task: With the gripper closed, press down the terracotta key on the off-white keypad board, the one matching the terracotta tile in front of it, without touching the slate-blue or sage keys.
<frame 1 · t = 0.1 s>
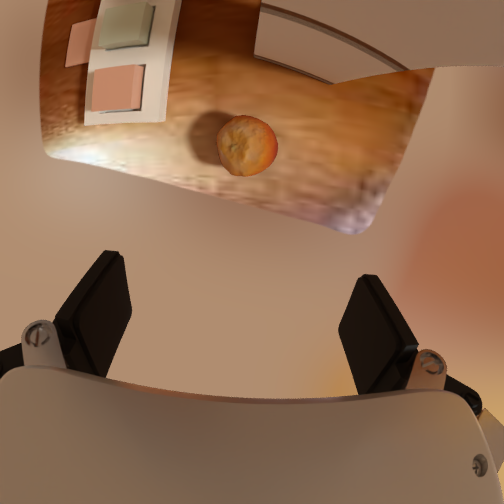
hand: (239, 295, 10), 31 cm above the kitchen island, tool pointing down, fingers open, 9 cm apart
fruit: (246, 142, 37), on the kitchen island
keypad board: (137, 32, 27), on the kitchen island
tiered shelf stand: (304, 39, 29), on the kitchen island
key sage: (126, 25, 23), point 5 cm above the kitchen island, slide at 0.0 cm
key terracotta: (117, 88, 28), point 5 cm above the kitchen island, slide at 0.0 cm
prompt tile: (82, 42, 26), on the kitchen island
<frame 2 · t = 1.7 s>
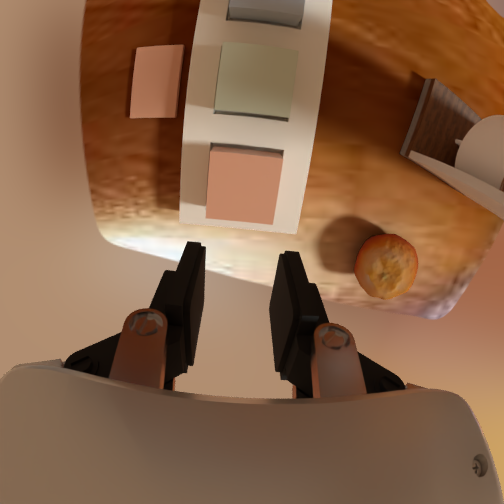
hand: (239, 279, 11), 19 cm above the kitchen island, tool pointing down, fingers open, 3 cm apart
fruit: (375, 250, 33), on the kitchen island
keypad board: (254, 85, 24), on the kitchen island
tiered shelf stand: (444, 137, 26), on the kitchen island
key sage: (255, 80, 20), point 5 cm above the kitchen island, slide at 0.0 cm
key terracotta: (243, 184, 24), point 4 cm above the kitchen island, slide at 0.0 cm
prompt tile: (157, 81, 23), on the kitchen island
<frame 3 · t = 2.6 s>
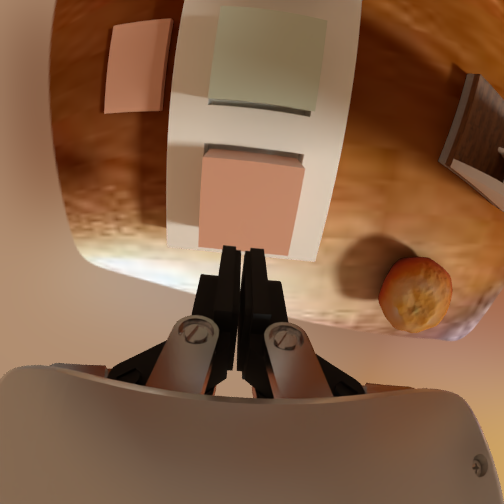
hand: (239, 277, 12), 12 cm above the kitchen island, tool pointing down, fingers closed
fruit: (402, 273, 27), on the kitchen island
keypad board: (263, 68, 17), on the kitchen island
tiered shelf stand: (484, 143, 19), on the kitchen island
key sage: (267, 58, 13), point 5 cm above the kitchen island, slide at 0.0 cm
key terracotta: (248, 200, 18), point 5 cm above the kitchen island, slide at 0.0 cm
prompt tile: (138, 65, 17), on the kitchen island
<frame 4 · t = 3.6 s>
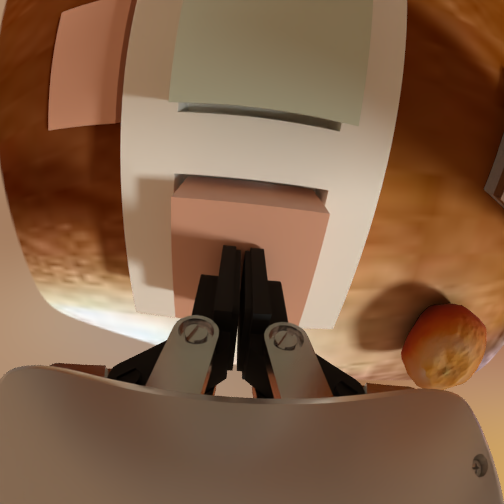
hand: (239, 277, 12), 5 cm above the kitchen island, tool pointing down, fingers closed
fruit: (429, 319, 21), on the kitchen island
keypad board: (265, 56, 11), on the kitchen island
key sage: (273, 34, 7), point 4 cm above the kitchen island, slide at 0.0 cm
key terracotta: (243, 253, 13), point 4 cm above the kitchen island, slide at 0.9 cm, touching gripper
prompt tile: (90, 61, 11), on the kitchen island
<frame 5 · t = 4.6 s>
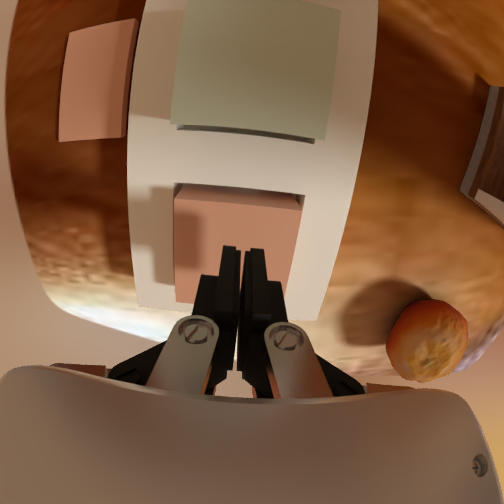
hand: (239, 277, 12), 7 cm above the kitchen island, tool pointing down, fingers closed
fruit: (412, 315, 23), on the kitchen island
keypad board: (251, 77, 14), on the kitchen island
key sage: (255, 63, 10), point 4 cm above the kitchen island, slide at 0.0 cm
key terracotta: (233, 246, 15), point 3 cm above the kitchen island, slide at 1.4 cm
prompt tile: (96, 80, 13), on the kitchen island
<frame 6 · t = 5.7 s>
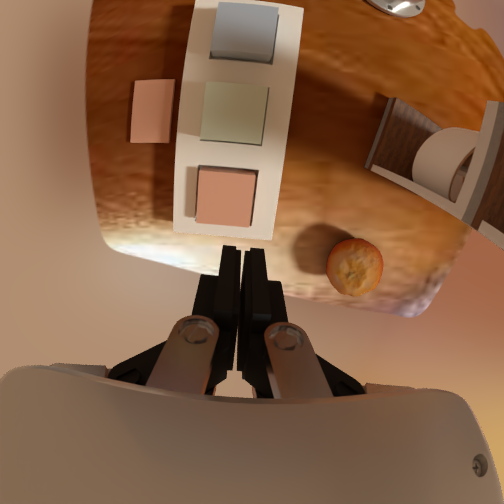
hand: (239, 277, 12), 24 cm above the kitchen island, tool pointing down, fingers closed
fruit: (346, 253, 39), on the kitchen island
keypad board: (234, 113, 29), on the kitchen island
tiered shelf stand: (408, 149, 32), on the kitchen island
key sage: (233, 112, 25), point 4 cm above the kitchen island, slide at 0.0 cm
key slate blue: (244, 31, 21), point 4 cm above the kitchen island, slide at 0.0 cm
key terracotta: (225, 195, 31), point 3 cm above the kitchen island, slide at 1.4 cm
prompt tile: (153, 110, 28), on the kitchen island
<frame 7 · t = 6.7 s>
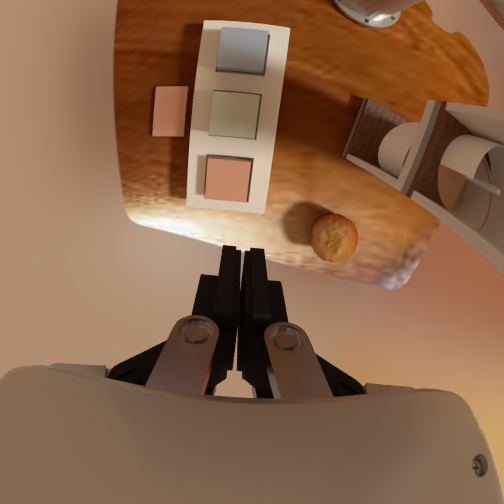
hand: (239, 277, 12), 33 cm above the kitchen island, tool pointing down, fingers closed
fruit: (328, 227, 47), on the kitchen island
keypad board: (235, 114, 37), on the kitchen island
tiered shelf stand: (380, 141, 39), on the kitchen island
key sage: (234, 114, 33), point 4 cm above the kitchen island, slide at 0.0 cm
key slate blue: (242, 50, 29), point 4 cm above the kitchen island, slide at 0.0 cm
key terracotta: (228, 178, 39), point 3 cm above the kitchen island, slide at 1.4 cm
prompt tile: (170, 111, 37), on the kitchen island
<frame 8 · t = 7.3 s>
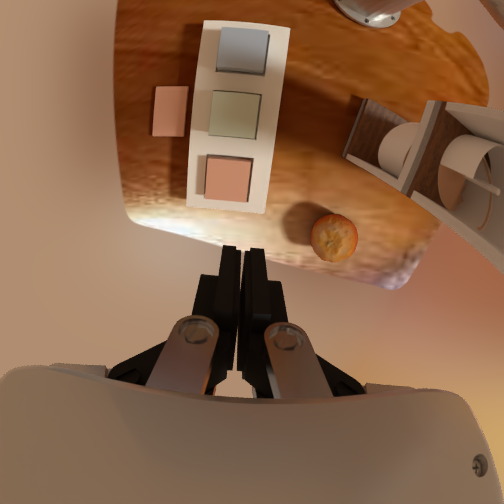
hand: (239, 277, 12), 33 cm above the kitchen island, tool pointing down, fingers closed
fruit: (328, 227, 47), on the kitchen island
keypad board: (235, 114, 37), on the kitchen island
tiered shelf stand: (380, 141, 39), on the kitchen island
key sage: (234, 114, 33), point 4 cm above the kitchen island, slide at 0.0 cm
key slate blue: (242, 50, 29), point 5 cm above the kitchen island, slide at 0.0 cm
key terracotta: (228, 178, 39), point 3 cm above the kitchen island, slide at 1.4 cm
prompt tile: (170, 111, 37), on the kitchen island
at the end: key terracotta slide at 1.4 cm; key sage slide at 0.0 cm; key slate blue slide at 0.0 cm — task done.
